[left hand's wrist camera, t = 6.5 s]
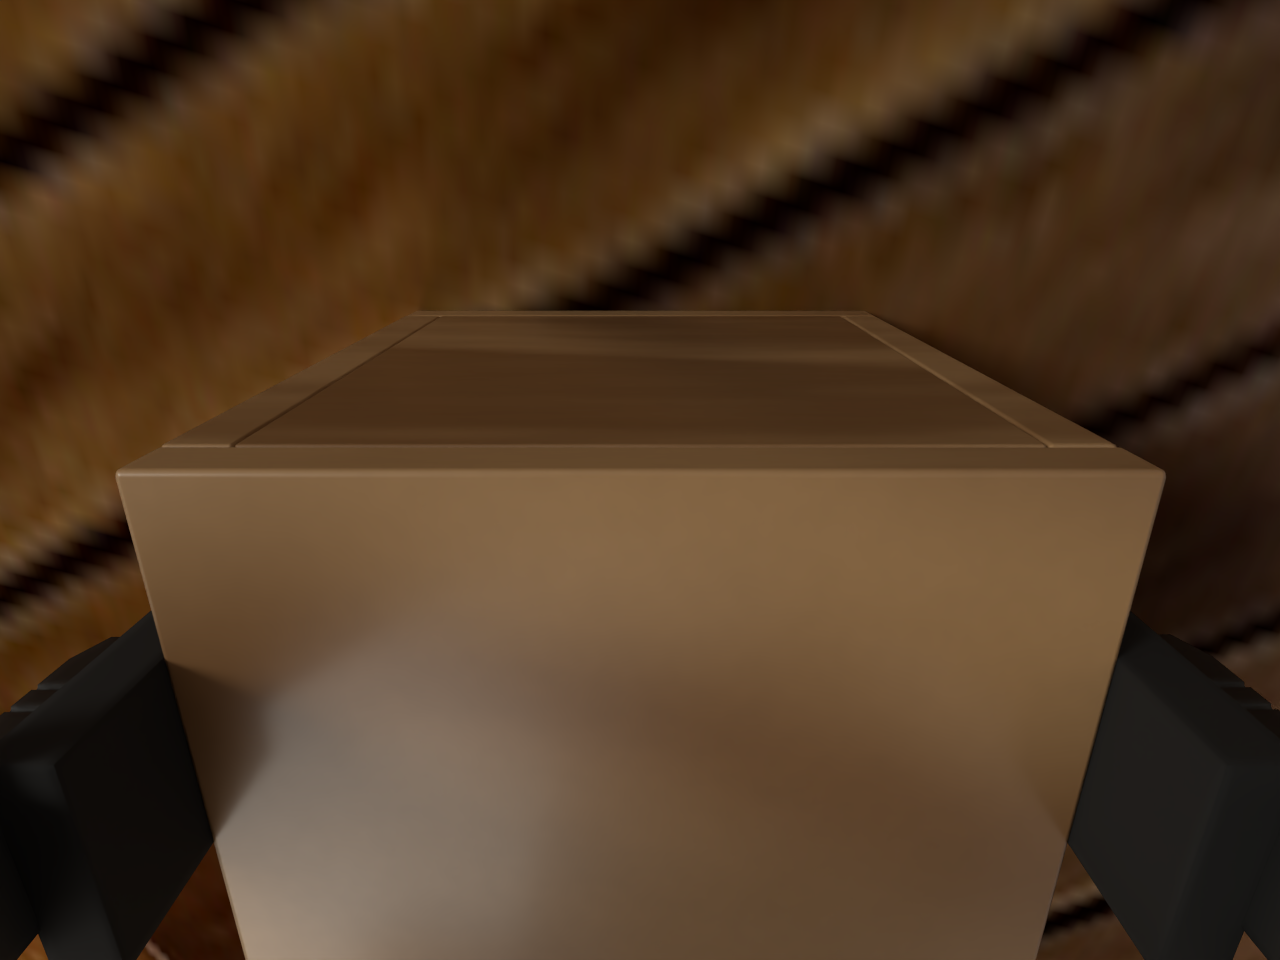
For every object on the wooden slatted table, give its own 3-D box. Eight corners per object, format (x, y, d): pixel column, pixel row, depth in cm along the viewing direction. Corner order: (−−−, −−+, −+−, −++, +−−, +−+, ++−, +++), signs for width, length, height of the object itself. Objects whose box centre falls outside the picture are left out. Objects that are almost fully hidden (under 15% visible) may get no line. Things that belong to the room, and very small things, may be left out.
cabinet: (802, 915, 25) (914, 1418, 15) (479, 915, 25) (367, 1417, 15) (867, 310, 18) (1172, 470, 7) (414, 310, 18) (109, 471, 7)
